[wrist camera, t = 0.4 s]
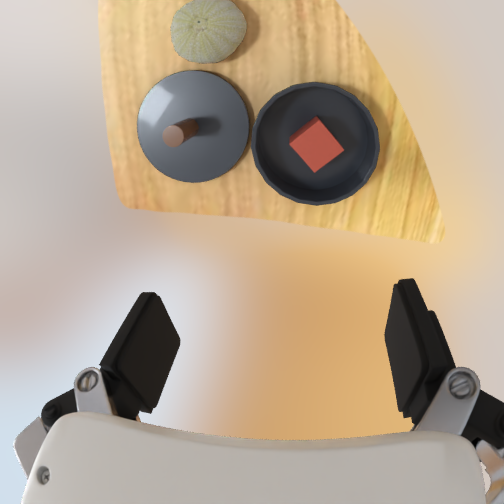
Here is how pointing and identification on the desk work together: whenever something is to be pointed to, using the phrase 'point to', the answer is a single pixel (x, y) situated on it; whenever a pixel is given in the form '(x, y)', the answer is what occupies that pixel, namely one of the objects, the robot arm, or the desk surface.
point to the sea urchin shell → (208, 30)
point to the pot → (337, 122)
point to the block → (315, 144)
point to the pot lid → (193, 126)
